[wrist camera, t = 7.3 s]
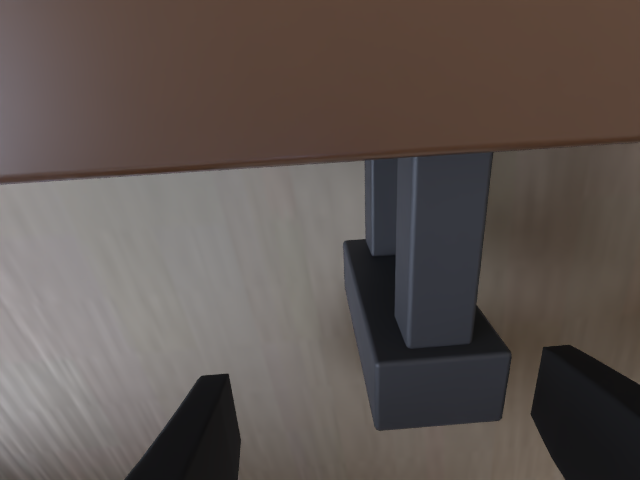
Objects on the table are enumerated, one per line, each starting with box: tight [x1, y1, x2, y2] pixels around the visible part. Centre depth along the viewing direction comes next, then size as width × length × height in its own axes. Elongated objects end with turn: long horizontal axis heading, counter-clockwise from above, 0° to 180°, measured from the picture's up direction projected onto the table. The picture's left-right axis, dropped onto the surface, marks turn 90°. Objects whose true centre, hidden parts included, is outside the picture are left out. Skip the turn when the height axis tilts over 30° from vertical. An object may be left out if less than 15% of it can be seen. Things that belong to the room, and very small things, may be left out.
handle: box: [343, 152, 512, 431], centre depth 7 cm, size 5×7×5 cm
